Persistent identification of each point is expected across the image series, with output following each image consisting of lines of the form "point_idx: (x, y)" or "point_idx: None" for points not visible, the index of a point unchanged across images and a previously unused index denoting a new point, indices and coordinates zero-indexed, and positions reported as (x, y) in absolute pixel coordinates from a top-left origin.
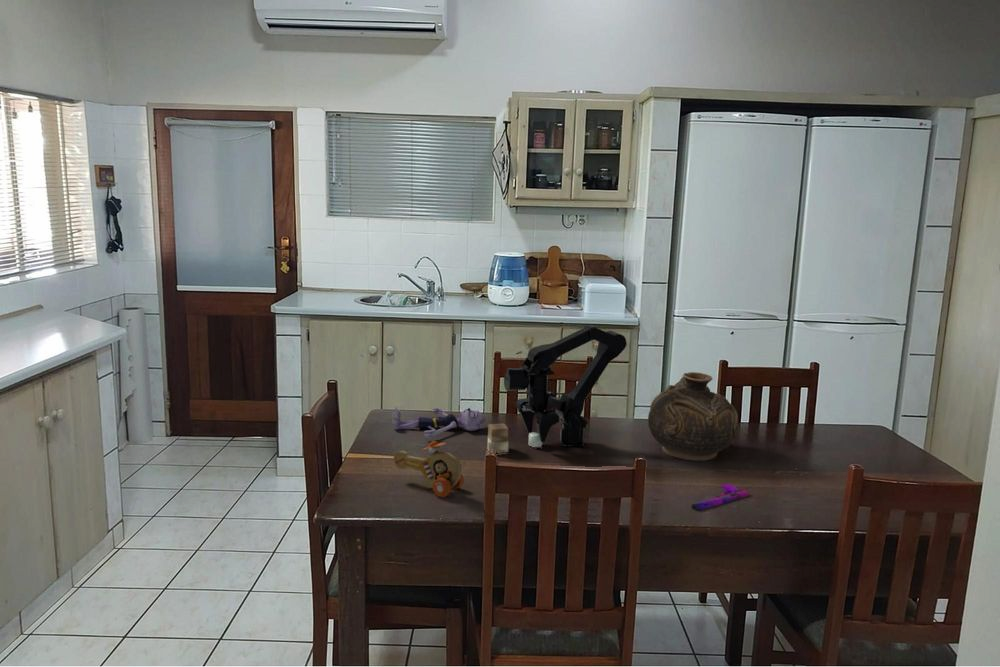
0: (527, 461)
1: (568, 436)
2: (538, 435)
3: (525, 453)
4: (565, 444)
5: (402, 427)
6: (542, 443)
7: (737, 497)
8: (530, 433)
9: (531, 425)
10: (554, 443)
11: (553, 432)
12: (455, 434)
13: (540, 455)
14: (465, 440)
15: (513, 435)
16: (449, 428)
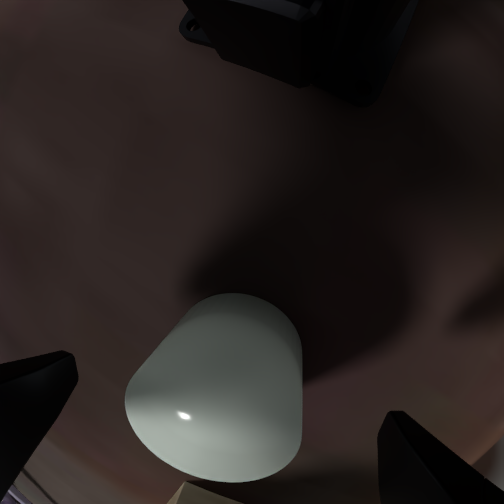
0: None
1: (381, 11)
2: (254, 429)
3: (327, 465)
4: (362, 79)
5: (10, 500)
6: (281, 331)
7: None
8: (157, 447)
9: (22, 391)
10: (235, 134)
11: (37, 45)
12: (23, 470)
13: (419, 410)
14: (72, 496)
15: (11, 328)
16: (15, 489)
